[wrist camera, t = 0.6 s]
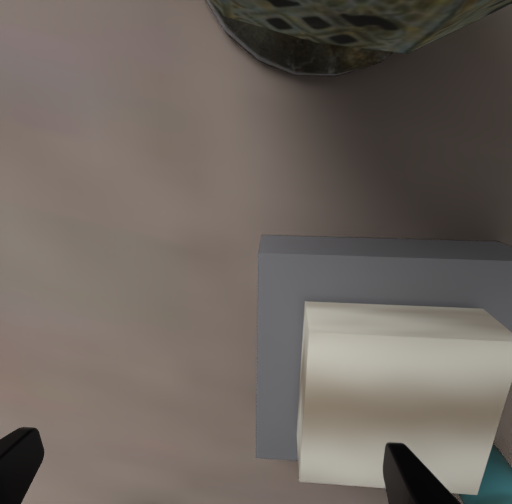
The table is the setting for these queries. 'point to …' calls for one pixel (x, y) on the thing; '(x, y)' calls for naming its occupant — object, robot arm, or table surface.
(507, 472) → the teal peg
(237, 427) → the table surface
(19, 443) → the robot arm
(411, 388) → the sliding lid
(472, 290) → the socket block
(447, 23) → the lidded ginger jar
